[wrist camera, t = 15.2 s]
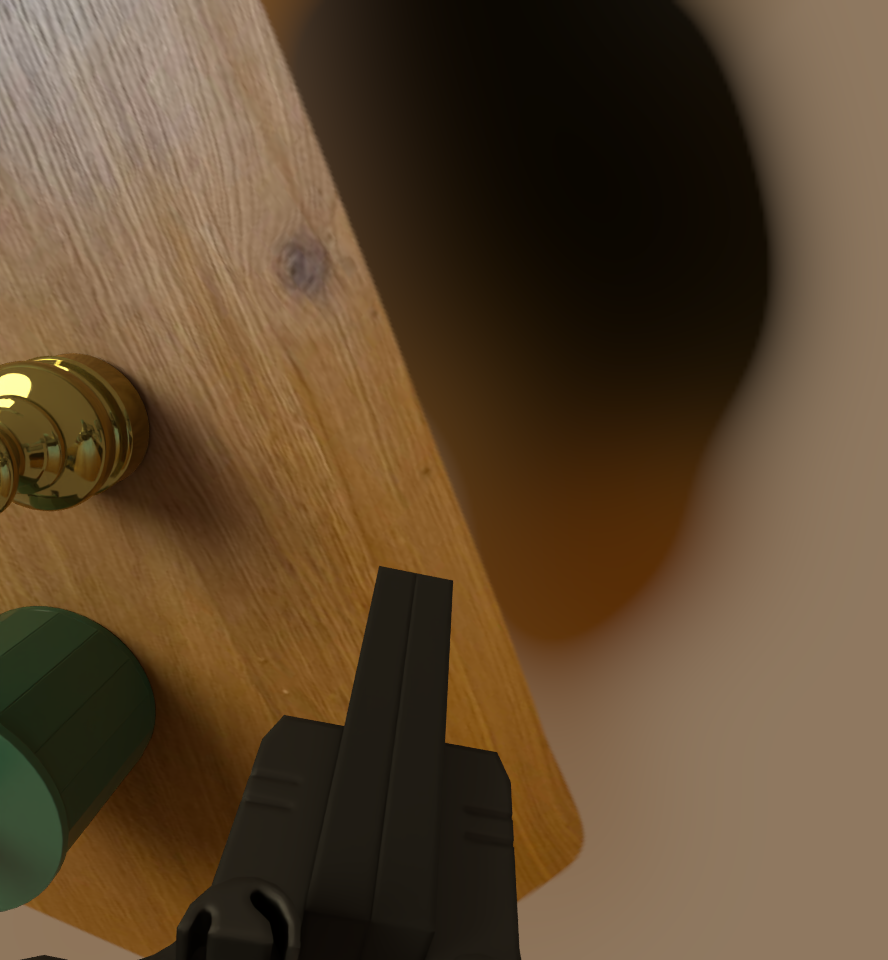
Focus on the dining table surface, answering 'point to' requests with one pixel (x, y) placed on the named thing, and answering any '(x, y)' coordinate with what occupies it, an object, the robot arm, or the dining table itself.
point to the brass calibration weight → (66, 430)
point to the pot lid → (28, 824)
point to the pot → (74, 704)
